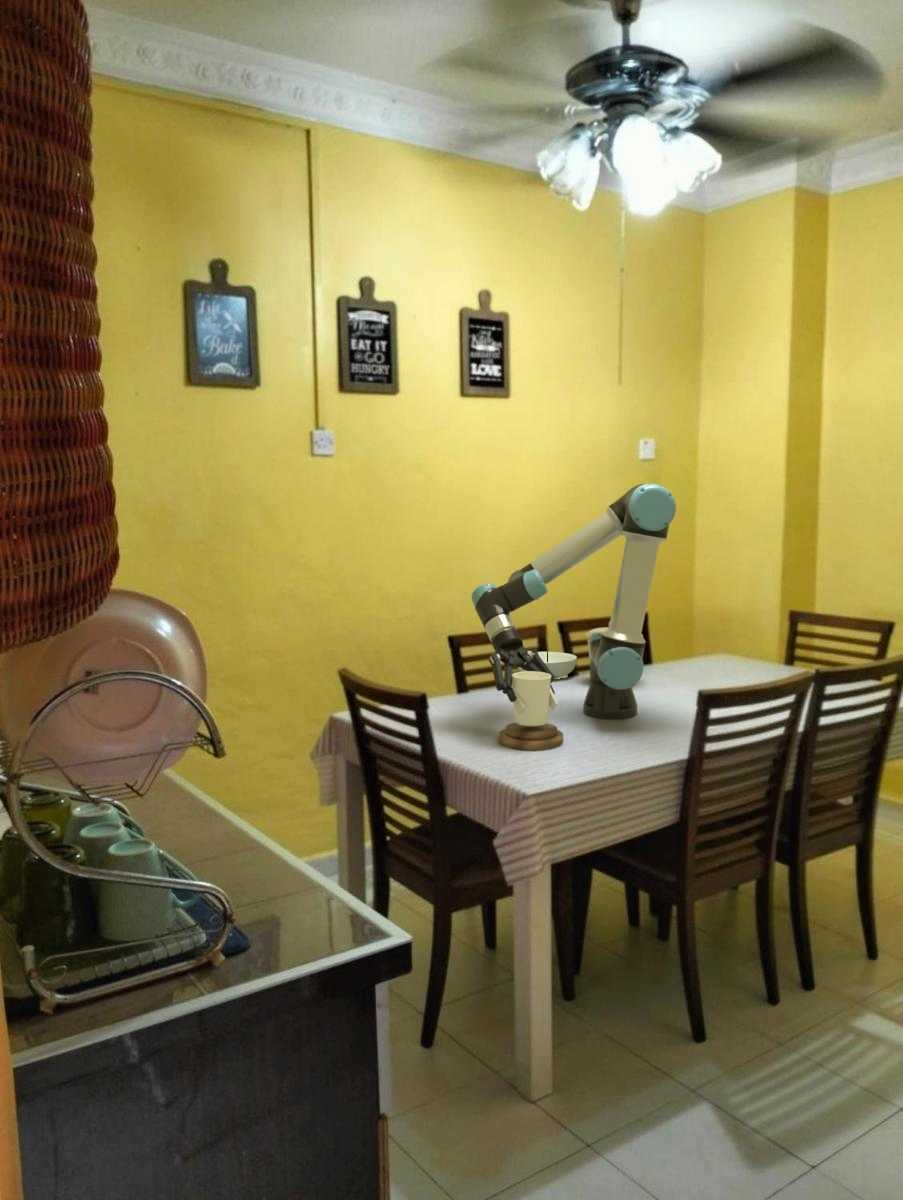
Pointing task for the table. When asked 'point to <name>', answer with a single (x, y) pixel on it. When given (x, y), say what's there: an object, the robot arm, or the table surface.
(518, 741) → the walnut pedestal
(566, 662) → the serving bowl
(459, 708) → the table surface
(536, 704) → the candle holder
